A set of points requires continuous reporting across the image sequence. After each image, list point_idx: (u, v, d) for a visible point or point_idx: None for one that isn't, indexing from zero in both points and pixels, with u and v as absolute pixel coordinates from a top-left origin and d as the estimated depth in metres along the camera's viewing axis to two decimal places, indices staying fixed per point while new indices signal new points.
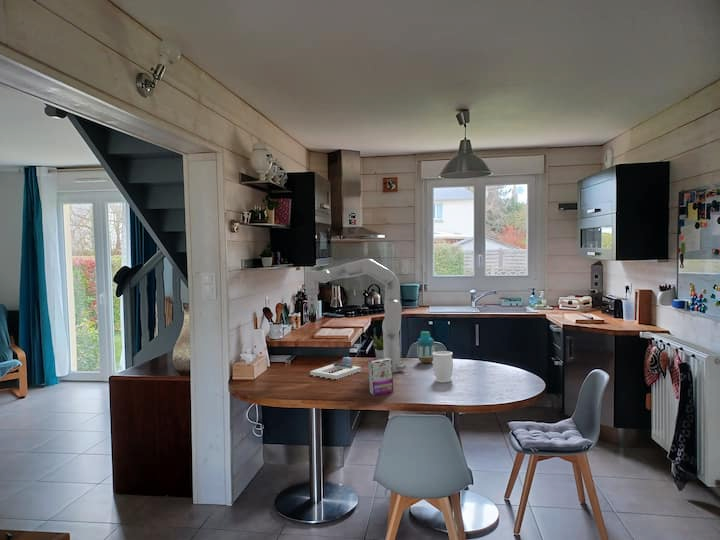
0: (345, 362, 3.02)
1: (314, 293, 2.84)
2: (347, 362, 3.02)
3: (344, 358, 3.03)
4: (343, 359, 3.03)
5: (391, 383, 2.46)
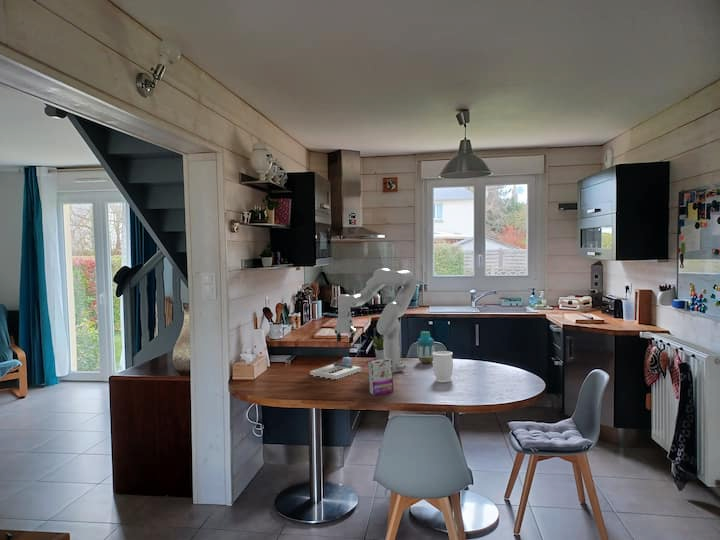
0: (345, 362, 3.02)
1: (350, 315, 3.03)
2: (347, 362, 3.02)
3: (344, 358, 3.03)
4: (343, 359, 3.03)
5: (391, 383, 2.46)
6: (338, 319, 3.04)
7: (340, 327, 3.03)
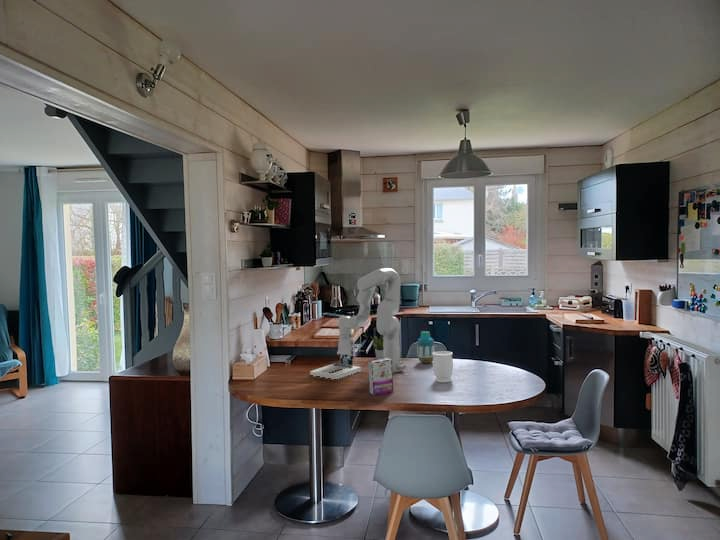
0: (345, 362, 3.02)
1: (351, 337, 3.03)
2: (347, 362, 3.02)
3: (344, 358, 3.03)
4: (343, 359, 3.03)
5: (391, 383, 2.46)
6: (339, 341, 3.04)
7: (341, 349, 3.03)
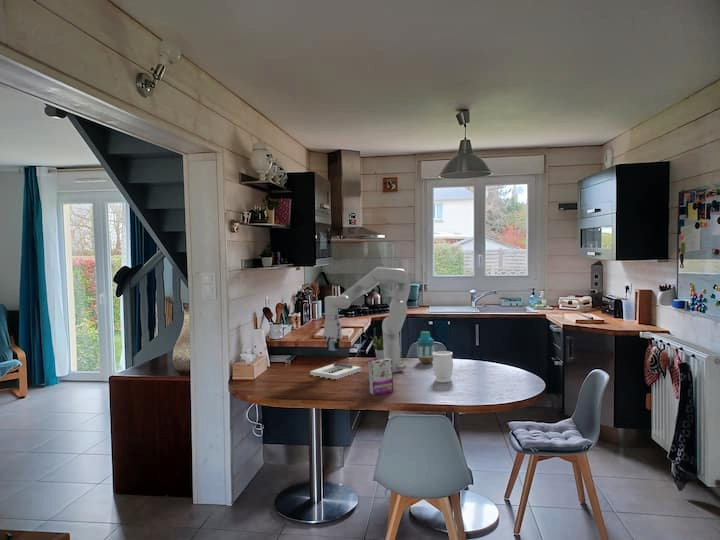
0: (331, 345, 2.85)
1: None
2: (333, 345, 2.85)
3: (330, 340, 2.86)
4: (329, 342, 2.86)
5: (391, 383, 2.46)
6: (325, 322, 2.87)
7: (327, 331, 2.86)
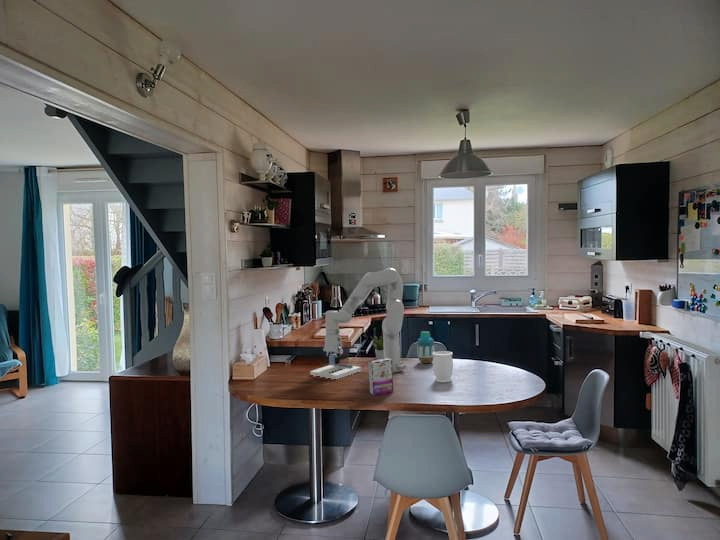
0: (331, 359, 2.85)
1: (338, 333, 2.86)
2: (333, 359, 2.85)
3: (330, 355, 2.86)
4: (329, 356, 2.86)
5: (391, 383, 2.46)
6: (326, 337, 2.87)
7: (328, 345, 2.86)
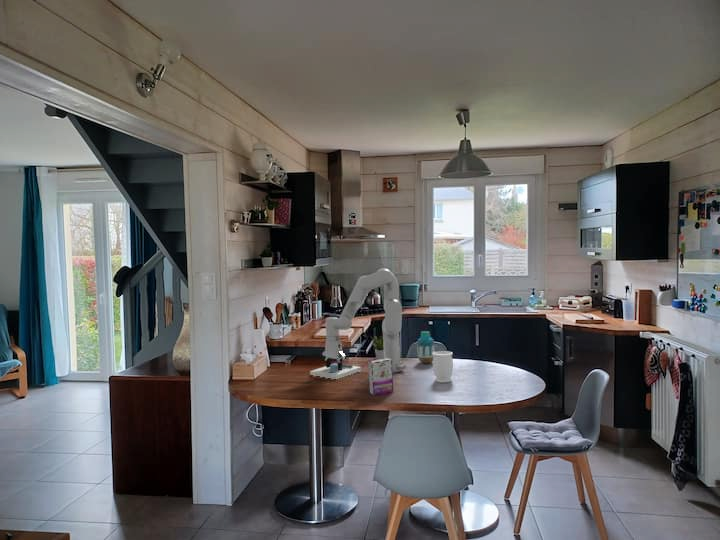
0: (332, 369, 2.86)
1: (339, 339, 2.86)
2: (335, 369, 2.85)
3: (331, 365, 2.86)
4: (330, 366, 2.86)
5: (391, 383, 2.46)
6: (326, 343, 2.87)
7: (328, 352, 2.87)
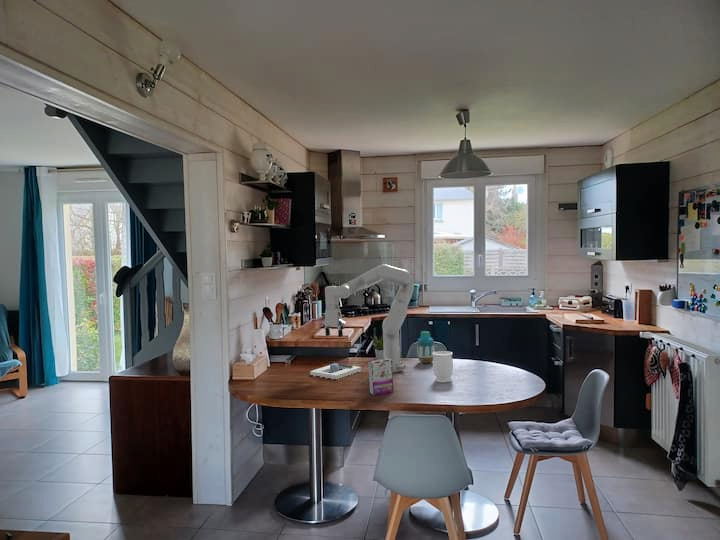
0: (332, 369, 2.86)
1: (338, 308, 2.89)
2: (335, 369, 2.85)
3: (331, 365, 2.86)
4: (330, 366, 2.86)
5: (391, 383, 2.46)
6: (326, 312, 2.90)
7: (328, 320, 2.89)
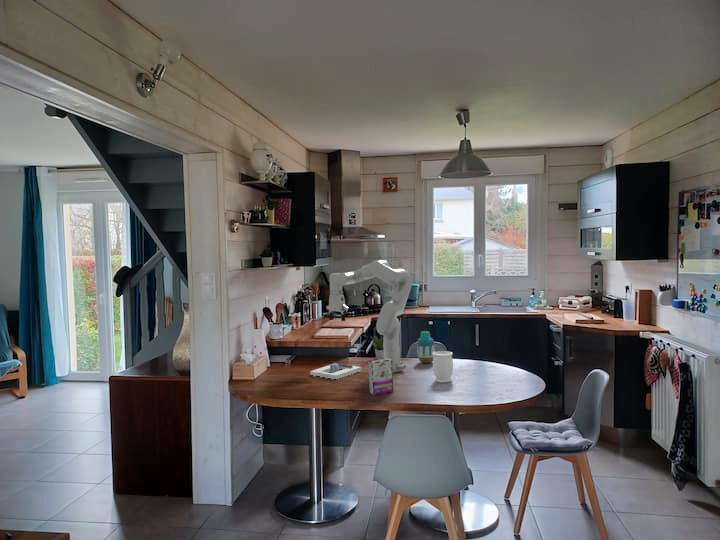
0: (333, 369, 2.86)
1: None
2: (335, 369, 2.85)
3: (331, 365, 2.86)
4: (330, 366, 2.86)
5: (391, 383, 2.46)
6: (330, 297, 3.07)
7: (332, 305, 3.06)
